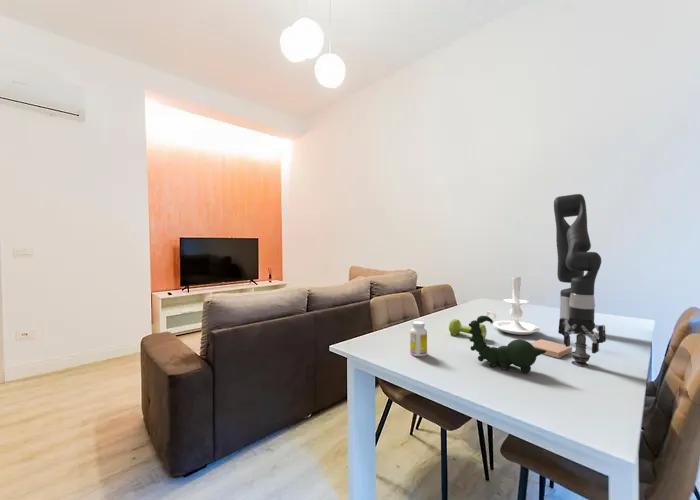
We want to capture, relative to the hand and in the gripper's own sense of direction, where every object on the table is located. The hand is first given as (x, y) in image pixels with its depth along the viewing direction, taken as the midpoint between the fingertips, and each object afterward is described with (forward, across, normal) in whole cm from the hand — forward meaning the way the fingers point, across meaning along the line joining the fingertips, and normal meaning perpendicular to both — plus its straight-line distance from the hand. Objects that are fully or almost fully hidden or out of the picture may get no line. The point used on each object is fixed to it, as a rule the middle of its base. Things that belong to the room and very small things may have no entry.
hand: (580, 349), depth 119 cm
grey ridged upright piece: (+6, 0, 0) cm, 6 cm away
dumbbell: (+6, -44, -6) cm, 45 cm away
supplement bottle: (+6, -41, -42) cm, 59 cm away
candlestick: (+6, -37, +19) cm, 42 cm away
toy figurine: (+6, -14, -26) cm, 30 cm away
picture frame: (+4, -13, +11) cm, 17 cm away
